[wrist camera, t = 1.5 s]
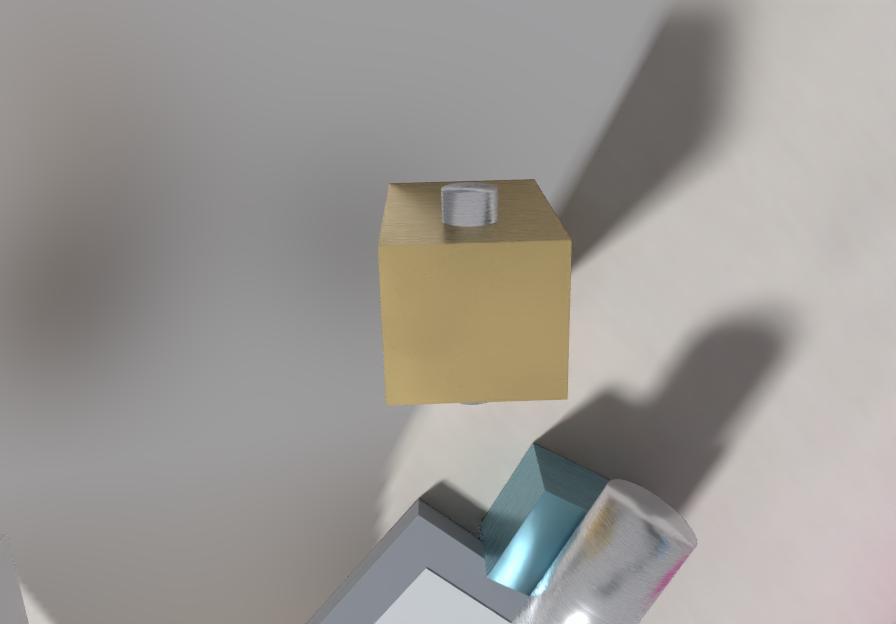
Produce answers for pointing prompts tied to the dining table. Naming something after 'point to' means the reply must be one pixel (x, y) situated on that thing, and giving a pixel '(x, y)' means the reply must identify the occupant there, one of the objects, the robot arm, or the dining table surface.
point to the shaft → (581, 543)
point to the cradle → (422, 579)
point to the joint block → (473, 293)
